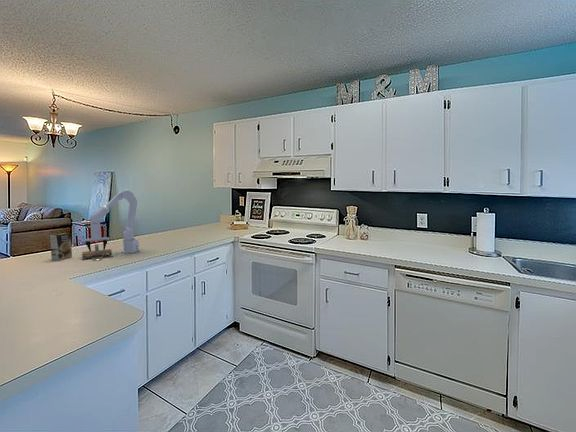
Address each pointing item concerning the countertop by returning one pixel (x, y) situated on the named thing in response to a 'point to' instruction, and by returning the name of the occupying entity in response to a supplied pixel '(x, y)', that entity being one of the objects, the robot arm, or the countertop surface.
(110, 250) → the wooden stand
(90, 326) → the countertop surface
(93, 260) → the puck
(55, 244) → the coffee box
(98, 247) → the scraper
